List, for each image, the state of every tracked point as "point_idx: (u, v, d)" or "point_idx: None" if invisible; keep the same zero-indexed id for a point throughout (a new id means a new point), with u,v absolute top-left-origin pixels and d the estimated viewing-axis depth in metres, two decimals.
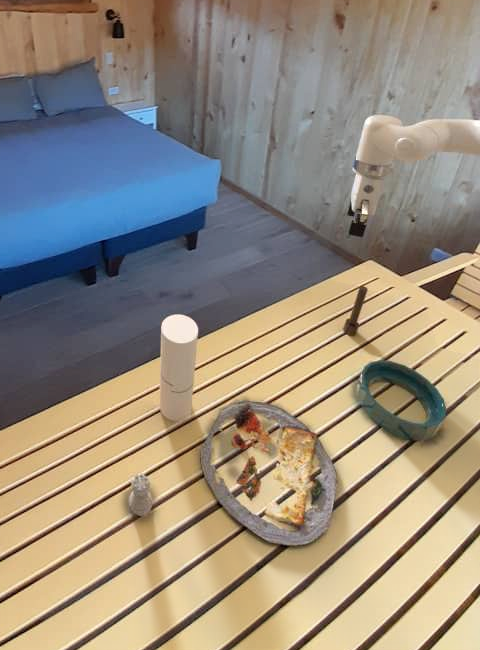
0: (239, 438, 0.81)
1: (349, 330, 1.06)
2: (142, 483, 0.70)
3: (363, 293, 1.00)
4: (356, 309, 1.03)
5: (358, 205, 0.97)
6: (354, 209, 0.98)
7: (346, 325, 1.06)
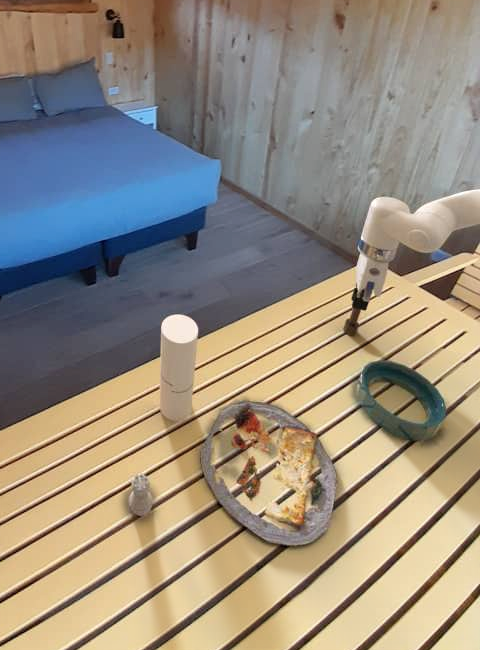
0: (239, 438, 0.81)
1: (349, 330, 1.06)
2: (142, 483, 0.70)
3: None
4: (356, 309, 1.03)
5: (361, 290, 0.97)
6: (359, 289, 0.96)
7: (346, 325, 1.06)
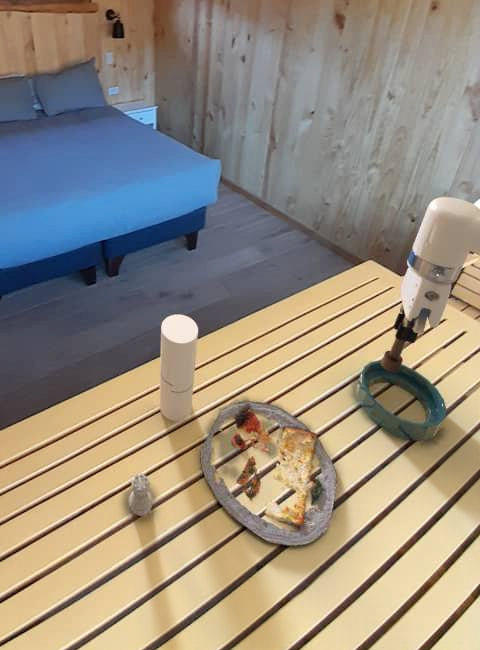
0: (239, 438, 0.81)
1: (390, 366, 0.83)
2: (142, 483, 0.70)
3: None
4: (400, 340, 0.81)
5: (411, 319, 0.74)
6: (409, 318, 0.74)
7: (386, 359, 0.84)
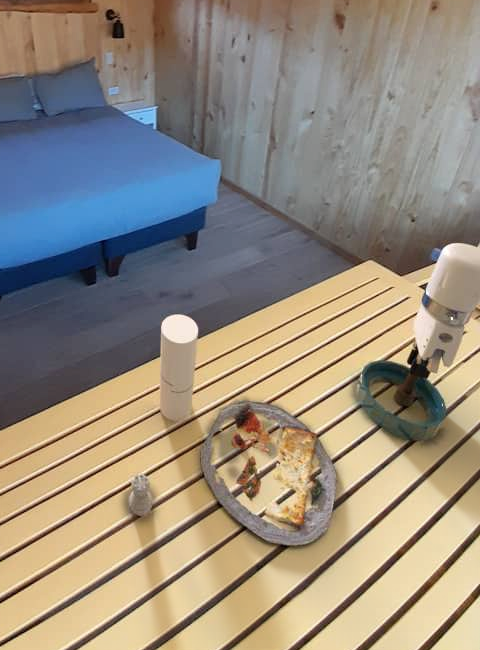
0: (239, 438, 0.81)
1: (404, 400, 0.86)
2: (142, 483, 0.70)
3: None
4: (414, 375, 0.84)
5: None
6: (424, 357, 0.77)
7: (399, 393, 0.87)
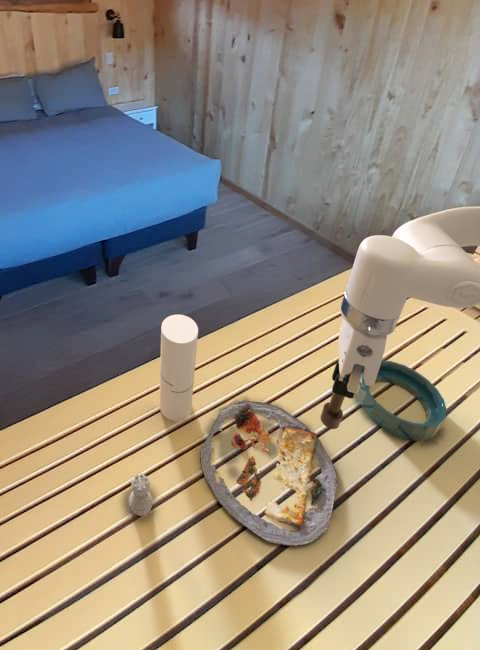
0: (239, 438, 0.81)
1: (329, 422, 0.73)
2: (142, 483, 0.70)
3: (348, 374, 0.67)
4: (338, 394, 0.70)
5: (345, 374, 0.64)
6: (342, 374, 0.63)
7: (324, 414, 0.73)
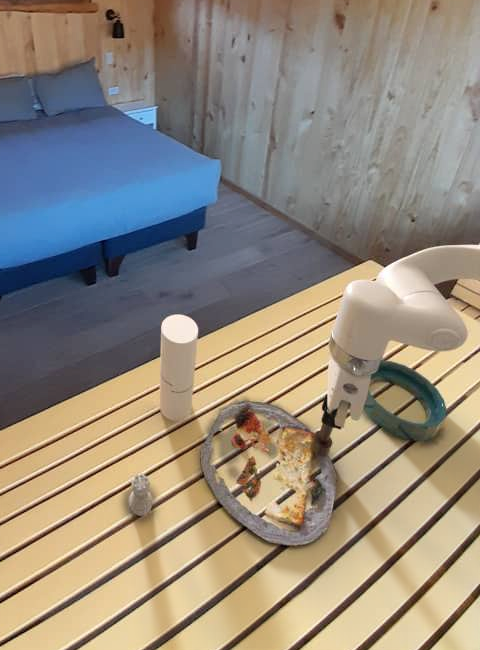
0: (239, 438, 0.81)
1: (319, 450, 0.76)
2: (142, 483, 0.70)
3: None
4: None
5: None
6: (330, 408, 0.67)
7: (314, 442, 0.77)
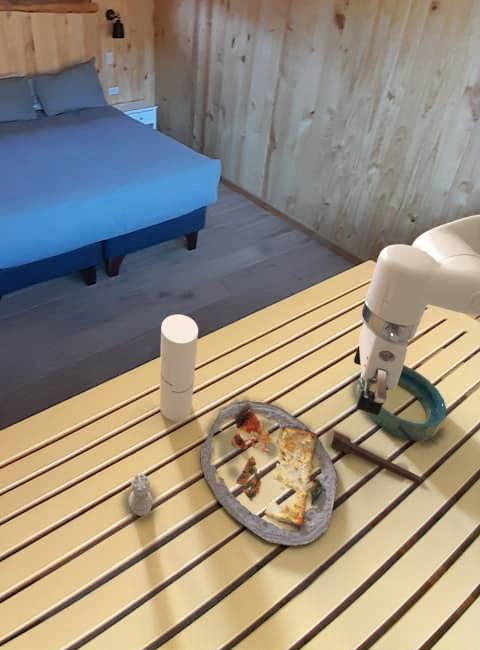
0: (239, 438, 0.81)
1: None
2: (142, 483, 0.70)
3: (414, 474, 0.75)
4: (380, 457, 0.78)
5: (371, 375, 0.65)
6: (365, 378, 0.66)
7: None
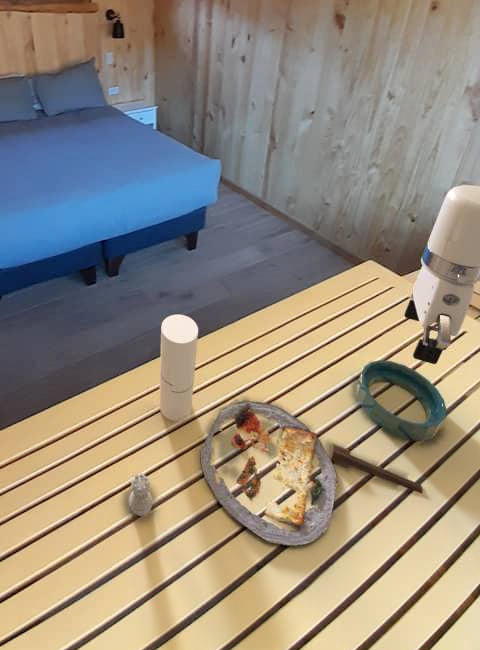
0: (239, 438, 0.81)
1: (341, 457, 0.77)
2: (142, 483, 0.70)
3: None
4: (381, 474, 0.75)
5: (432, 321, 0.63)
6: (425, 325, 0.64)
7: (346, 453, 0.77)
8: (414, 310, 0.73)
